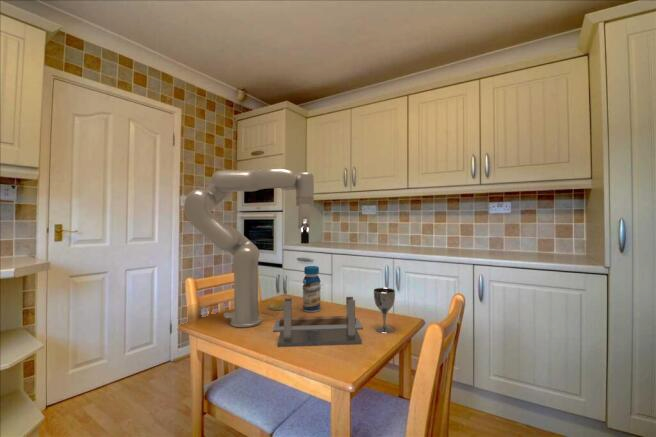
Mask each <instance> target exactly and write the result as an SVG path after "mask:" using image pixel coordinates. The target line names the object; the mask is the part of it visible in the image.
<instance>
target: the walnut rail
mask: <svg viewBox="0 0 656 437" xmlns="http://www.w3.org/2000/svg"><path fill="white" fill-rule="evenodd" d="M356 318H357V317H356V316H355V324H356ZM278 321H279V326H284V317H279V320H278ZM341 324H346V315H331V316H330V315H329V316H328V315H327V316H324V315H323V316H322V315H321V316H296V317H295V316H294V317H293V316H292V326H308V325H341Z"/></svg>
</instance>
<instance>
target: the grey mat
mask: <svg viewBox="0 0 656 437" xmlns="http://www.w3.org/2000/svg"><path fill="white" fill-rule="evenodd" d="M327 330H346V324H341V325H308V326H292V332H295V331H327ZM355 330H364V327H363V325H362V323H361V322H360V318H358V317H356V324H355ZM272 332H273V333H280V332H284V326H279V320H275V323H274V326H273V329H272Z"/></svg>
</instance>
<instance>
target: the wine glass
mask: <svg viewBox="0 0 656 437" xmlns="http://www.w3.org/2000/svg"><path fill="white" fill-rule="evenodd" d="M395 296H396V291H395V289H393V288H388V287H378V288H377V287H376V288H373V299H374V304H375V306H376V307H377V309H378V310H379V311H380V312H381V314H382V321H383V324H382V325H381V326H377V327H375V329H374V330H375V332H378V333H381V334H391V333H393V332H395V329H394V328H393V327H390V326H387V324H386V320H387V319H386V318H387V314H388V312H389V311H390V310H391V309H392V308H393V306H394V304H395V299H396V297H395Z"/></svg>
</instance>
